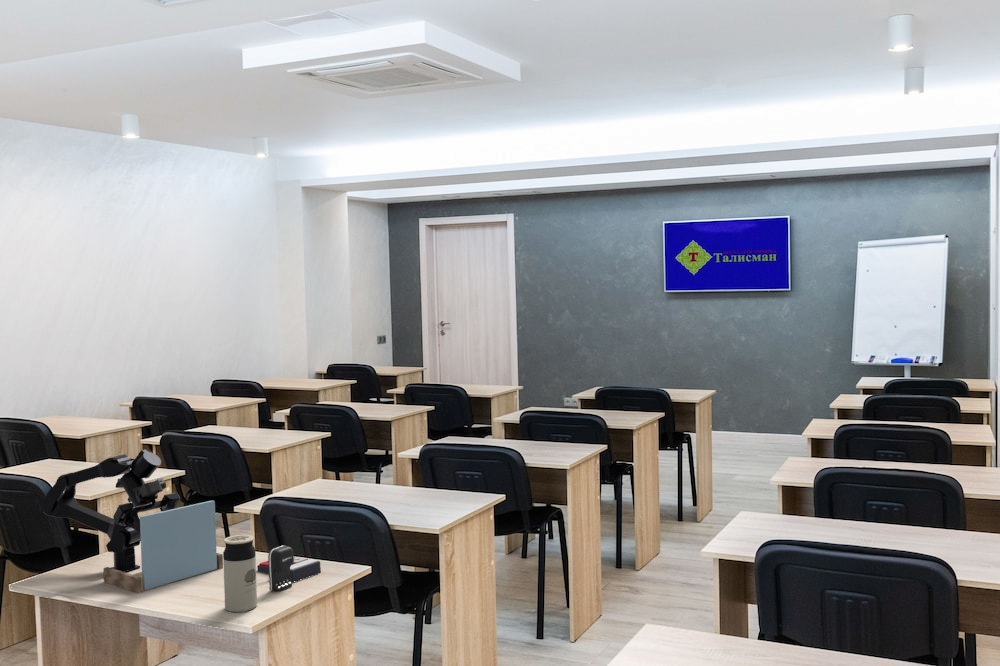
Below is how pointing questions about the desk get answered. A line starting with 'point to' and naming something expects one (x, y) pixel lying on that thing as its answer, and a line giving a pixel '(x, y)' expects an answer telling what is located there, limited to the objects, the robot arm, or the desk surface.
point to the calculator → (297, 568)
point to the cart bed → (139, 577)
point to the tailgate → (178, 544)
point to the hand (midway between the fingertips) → (160, 530)
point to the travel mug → (240, 573)
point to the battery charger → (280, 568)
